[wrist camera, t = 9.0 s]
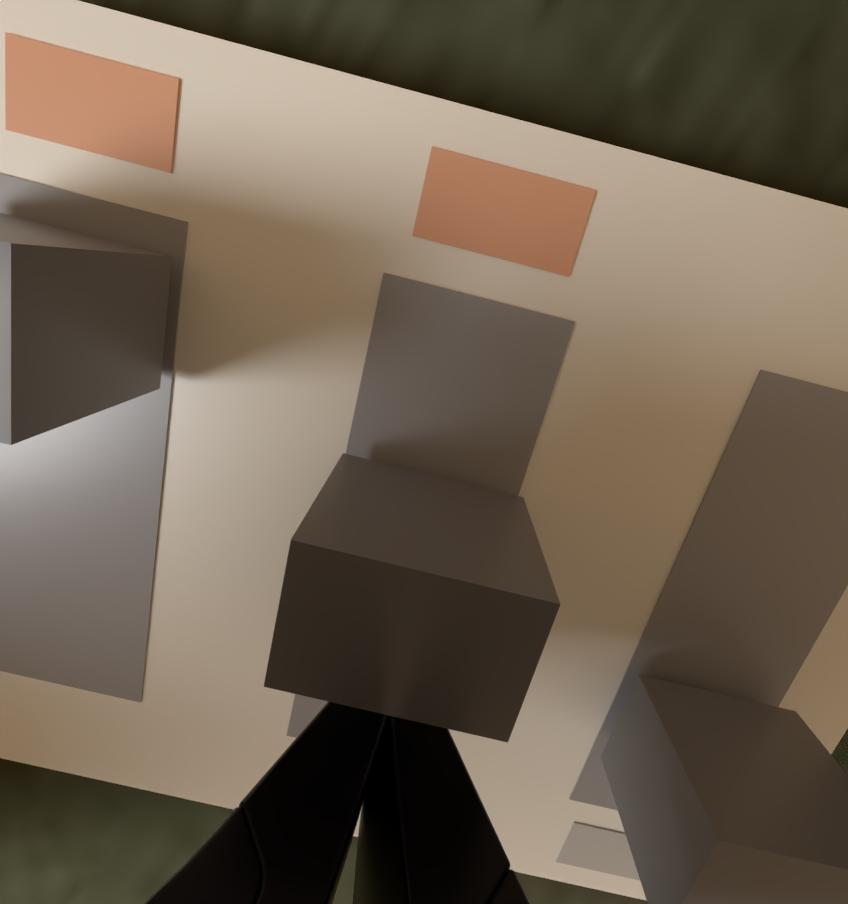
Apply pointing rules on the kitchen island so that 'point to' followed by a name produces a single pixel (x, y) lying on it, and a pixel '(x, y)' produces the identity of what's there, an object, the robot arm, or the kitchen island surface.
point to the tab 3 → (727, 799)
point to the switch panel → (413, 413)
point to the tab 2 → (414, 600)
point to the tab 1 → (75, 325)
